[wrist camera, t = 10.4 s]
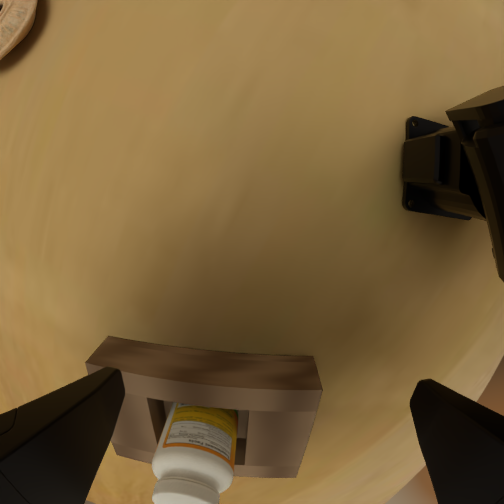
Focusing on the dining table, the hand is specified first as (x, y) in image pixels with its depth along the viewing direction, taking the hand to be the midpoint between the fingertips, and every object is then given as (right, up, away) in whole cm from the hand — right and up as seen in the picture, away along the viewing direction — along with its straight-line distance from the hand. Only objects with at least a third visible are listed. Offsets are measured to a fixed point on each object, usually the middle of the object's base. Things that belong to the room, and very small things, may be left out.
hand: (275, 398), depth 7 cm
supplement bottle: (-4, -9, +14) cm, 17 cm away
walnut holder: (-4, -8, +15) cm, 17 cm away
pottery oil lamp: (-22, +27, +7) cm, 36 cm away
